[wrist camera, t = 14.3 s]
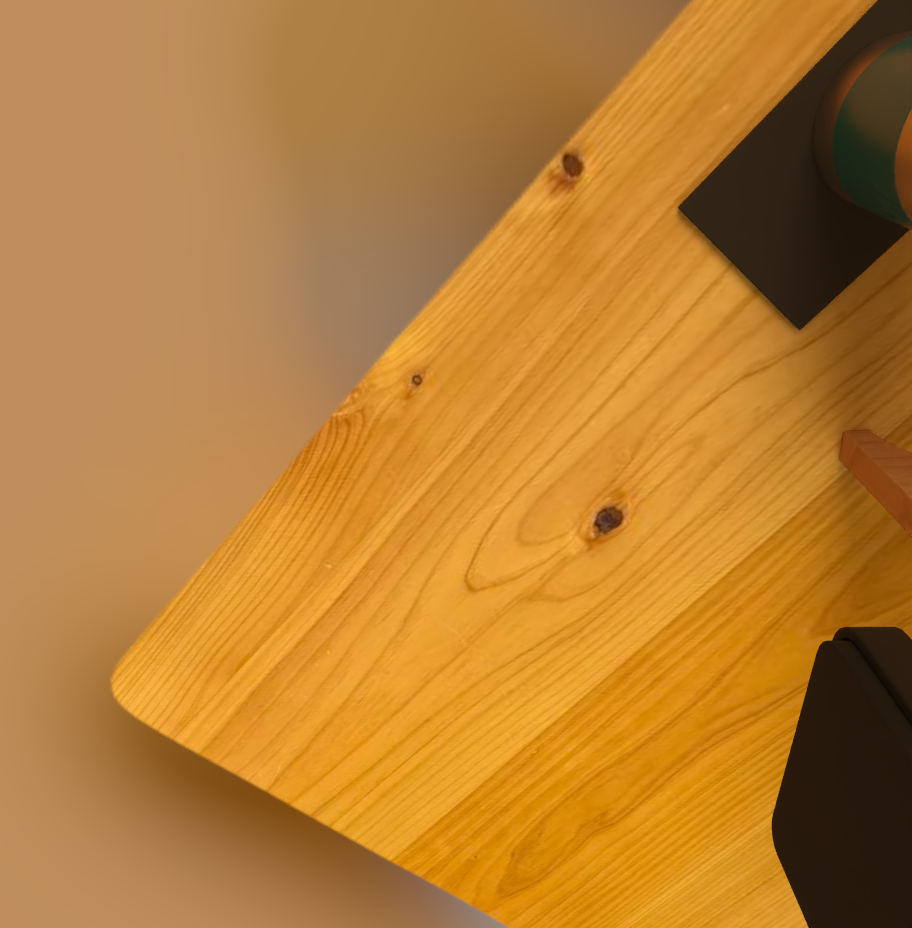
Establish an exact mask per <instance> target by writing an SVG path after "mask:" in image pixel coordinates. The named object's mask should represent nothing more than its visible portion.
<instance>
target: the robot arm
mask: <svg viewBox="0 0 912 928" xmlns="http://www.w3.org/2000/svg"><path fill="white" fill-rule="evenodd" d="M772 836H773V842H774V846H775V849H776V852H777V855H778V857H779V860H780V862H781V864H782V867H783V869H784V871H785V874H786V876H787V878H788V881H789V883H790V885H791V888H792V890H793V892H794V895H795V897H796V899H797V901H798V904H799V906H800V908H801V911H802V913H803V915H804V918H805V920H806V922H807V925H808V927H809V928H912V640H911V639H910V637H909V636H908V635H907V634H906V633H905V632H904V631H903V630H901V629H899V628H896V627H844V628H840V629H839V630H838V631H837V632H836V633H835V635H834V638H833V640H832V641H825V642H823V643H822V644H821V645H820V646H819V649H818V651H817V654H816V658H815V662H814V665H813V669H812V673H811V676H810V680H809V684H808V687H807V691H806V695H805V698H804V702H803V706H802V709H801V713H800V717H799V721H798V724H797V728H796V732H795V735H794V739H793V743H792V746H791V750H790V754H789V757H788V761H787V765H786V768H785V772H784V776H783V779H782V783H781V787H780V791H779V794H778V798H777V802H776V805H775V809H774V813H773V817H772Z"/></svg>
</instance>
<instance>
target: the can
mask: <svg viewBox="0 0 912 928" xmlns="http://www.w3.org/2000/svg"><path fill="white" fill-rule="evenodd" d="M813 150H814V156H815V160H816V164H817V167H818V169H819V172H820V174H821V176H822V177H823V179H824V181H825V182H826V184H827V185H828V186H829V187H830V188H831V190H832V191H834V192H835V193H836V194H837V195H838V196H839V197H841V198H843V199H844V200H846V201H848V202H850V203H852V204H855V205H857V206H859V207H862V208H864V209H866V210H867V211H869V212H871V213H873V214H876V215H878V216H880V217H883V218H885V219H887V220H890V221H892V222H894V223H897V224H899V225H901V226H903V227H906V228H908V229H910V230H912V31H906V32H901V33H896V34H892V35H889V36H886V37H884V38H881V39H879V40H877V41H875V42H873V43H871V44H870V45H868V46H867V47H865V48H863V49H862V50H861V51H859V52H858V53H857V54H855V55H854V56H853V57H852V58H851V59H850V60H849V61H848V62H847V63H846V64H845V65H844V66H843V67H842V68H841V69H840V70H839V72H838V73H837V74H836V75H835V77H834V78H833V80H832V81H831V83H830V84H829V86H828V88H827V89H826V91H825V93H824V95H823V97H822V100H821V102H820V105H819V107H818V110H817V114H816V118H815V122H814V129H813Z"/></svg>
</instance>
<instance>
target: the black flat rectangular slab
mask: <svg viewBox="0 0 912 928" xmlns="http://www.w3.org/2000/svg"><path fill="white" fill-rule="evenodd" d="M906 31H912V0H878V1H877V2H876V3H875V4H874V5H873V6H872V7H871V8H870V9H869V10H868V11H867V12H866V13H865V14H864V15H863V16H862V17H861V18H860V19H859V20H858V22H857V23H856V24H855V25H854V26H853V27H852V28H851V29H850V30H849V31H848V32H847V33H846V34H845V35H844V36H843V37H842V38H841V39H840V40H839V41H838V42H837V43H836V44H835V45H834V46H833V47H832V48H831V49H830V51H829V52H828V53H827V54H826V55H825V56H824V57H823V58H822V59H821V60H820V61H819V62H818V63H817V64H816V65H815V66H814V67H813V68H812V69H811V70H810V71H809V72H808V73H807V74H806V75H805V76H804V77H803V78H802V79H801V81H800V82H799V83H798V84H797V85H796V86H795V87H794V88H793V89H792V90H791V91H790V92H789V93H788V94H787V95H786V96H785V97H784V98H783V99H782V100H781V101H780V102H779V103H778V104H777V105H776V106H775V107H774V108H773V110H772V111H771V112H770V113H769V114H768V115H767V116H766V117H765V118H764V119H763V120H762V121H761V122H760V123H759V124H758V125H757V126H756V127H755V128H754V129H753V130H752V131H751V132H750V133H749V134H748V135H747V136H746V137H745V138H744V140H743V141H742V142H741V143H740V144H739V145H738V146H737V147H736V148H735V149H734V150H733V151H732V152H731V153H730V154H729V155H728V156H727V157H726V158H725V159H724V160H723V161H722V162H721V163H720V164H719V165H718V166H717V167H716V169H715V170H714V171H713V172H712V173H711V174H710V175H709V176H708V177H707V178H706V179H705V180H704V181H703V182H702V183H701V184H700V185H699V186H698V187H697V188H696V189H695V190H694V191H693V192H692V193H691V194H690V195H689V196H688V197H687V199H686V200H685V201H684V202H683V203H682V204H681V205H680V206H679V207H678V208H679V209H680V210H681V211H682V212H683V213H684V214H685V215H686V216H687V217H688V218H689V219H690V220H691V221H692V222H693V223H694V224H695V225H696V226H697V227H698V228H699V229H700V230H701V231H702V232H703V233H704V234H705V235H706V236H707V237H708V238H709V239H710V240H711V241H712V242H713V243H714V244H715V245H716V247H717V248H718V249H719V250H720V251H721V252H722V253H723V254H724V255H725V256H726V257H727V258H728V259H729V260H730V261H731V262H732V263H733V264H734V265H735V266H736V267H737V268H738V269H739V270H740V271H741V272H742V273H743V274H744V275H745V276H746V277H747V278H748V279H749V280H750V281H751V282H752V283H753V284H754V285H755V286H756V287H757V288H758V289H759V290H760V291H761V292H762V293H763V294H764V295H765V296H766V297H767V298H768V299H769V300H770V301H771V302H772V303H773V304H774V305H775V306H776V307H777V308H778V309H779V310H780V311H781V312H782V313H783V314H784V315H785V316H786V317H787V318H788V319H789V320H790V321H791V322H792V323H793V324H794V325H795V326H796V327H797V328H798V329H799V330H801V329H802V328H803V327H804V326H805V325H806V324H807V323H808V322H809V321H810V320H811V319H813V318H814V317H815V316H816V315H817V314H818V313H819V312H820V311H821V310H822V309H823V308H825V307H826V306H827V305H828V304H829V303H830V302H831V301H832V300H833V299H834V298H835V297H837V296H838V295H839V294H840V293H841V292H842V291H843V290H844V289H845V288H846V287H847V286H849V285H850V284H851V283H852V282H853V281H854V280H855V279H856V278H857V277H858V276H859V275H861V274H862V273H863V272H864V271H865V270H866V269H867V268H868V267H869V266H870V265H871V264H872V263H874V262H875V261H876V260H877V259H878V258H879V257H880V256H881V255H882V254H883V253H884V252H886V251H887V250H888V249H889V248H890V247H891V246H892V245H893V244H894V243H895V242H896V241H898V240H899V239H900V238H901V237H902V236H903V235H904V234H905V233H906V232H907V231H908V230H910V229H908V228H906V227H903V226H901V225H899V224H897V223H894V222H892V221H890V220H887V219H885V218H883V217H880V216H878V215H876V214H873V213H871V212H869V211H867V210H866V209H864V208H862V207H859V206H857V205H855V204H852V203H850V202H848V201H846V200H844V199H843V198H841V197H839V196H838V195H837V194H836V193H835V192H834V191H832V190H831V188H830V187H829V186H828V185H827V184H826V182H825V181H824V179H823V177H822V176H821V174H820V172H819V169H818V167H817V164H816V160H815V156H814V150H813V129H814V122H815V118H816V114H817V110H818V107H819V105H820V102H821V100H822V97H823V95H824V93H825V91H826V89H827V88H828V86H829V84H830V83H831V81H832V80H833V78H834V77H835V75H836V74H837V73H838V72H839V70H840V69H841V68H842V67H843V66H844V65H845V64H846V63H847V62H848V61H849V60H850V59H851V58H852V57H853V56H854V55H855V54H857V53H858V52H859V51H861V50H862V49H863V48H865V47H867V46H868V45H870V44H871V43H873V42H875V41H877V40H879V39H881V38H884V37H886V36H889V35H892V34H896V33H901V32H906Z"/></svg>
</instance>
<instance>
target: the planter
mask: <svg viewBox="0 0 912 928" xmlns="http://www.w3.org/2000/svg"><path fill="white" fill-rule="evenodd" d="M839 460H840V461H841V462H842V463H843V464H844V465H845V466H846V467H847V468H848V469H849V470H850V471H851V472H852V473H853V474H854V476H855V477H856V478H857V479H858V480H859V481H860V482H861V483H862V484H863V485H864V486H865V487H866V488H867V489H868V490H869V491H870V493H871V494H872V495H873V496H874V497H875V498H876V499H877V500H878V501H879V502H880V503H881V504H882V505H883V506H884V507H885V509H886V510H887V511H888V512H889V513H890V514H891V515H892V516H893V517H894V518H895V519H896V520H897V521H898V522H899V523H900V525H901V526H902V527H903V528H904V529H905V530H906V531H907V532H908V533H909V534H910V535H911V536H912V453H911V452H909V451H906V450H904V449H901V448H899V447H897V446H895V445H893V444H891V443H889V442H887V441H885V440H883V439H881V438H880V437H878V436H877V435H876V434H874V433H873V432H872V431H871V430H855V431H844V432H843V438H842V444H841V450H840V456H839Z"/></svg>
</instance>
